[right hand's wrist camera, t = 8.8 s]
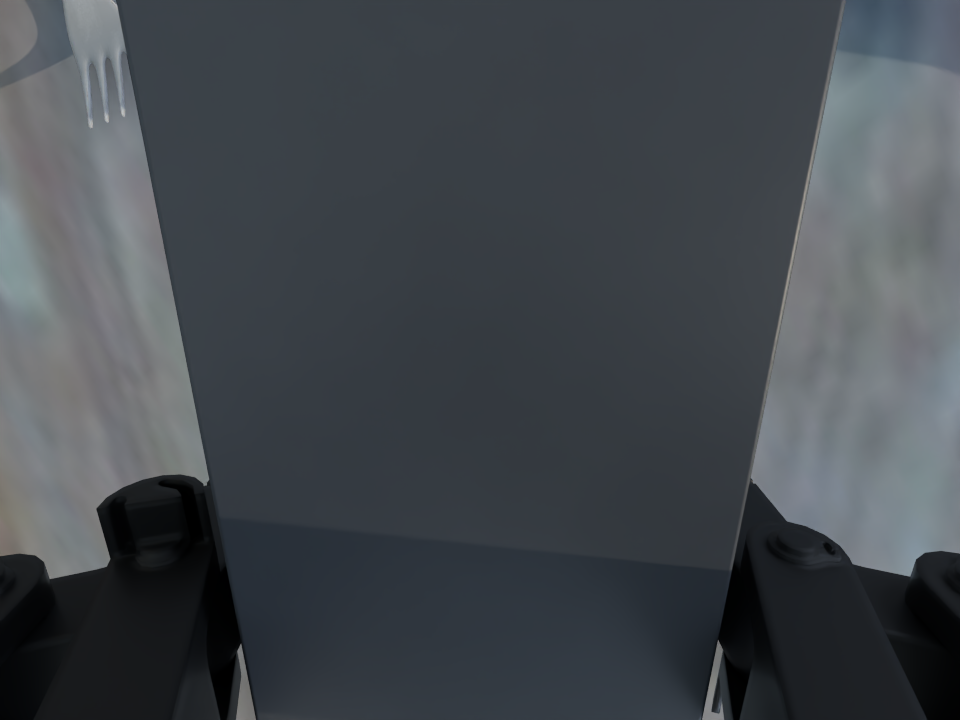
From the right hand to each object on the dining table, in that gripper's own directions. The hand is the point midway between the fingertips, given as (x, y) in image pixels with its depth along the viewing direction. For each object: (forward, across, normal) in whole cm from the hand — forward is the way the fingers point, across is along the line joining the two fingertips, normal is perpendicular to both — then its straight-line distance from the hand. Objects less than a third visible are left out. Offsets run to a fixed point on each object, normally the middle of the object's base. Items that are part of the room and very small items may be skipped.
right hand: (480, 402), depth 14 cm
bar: (+1, 0, -9) cm, 9 cm away
